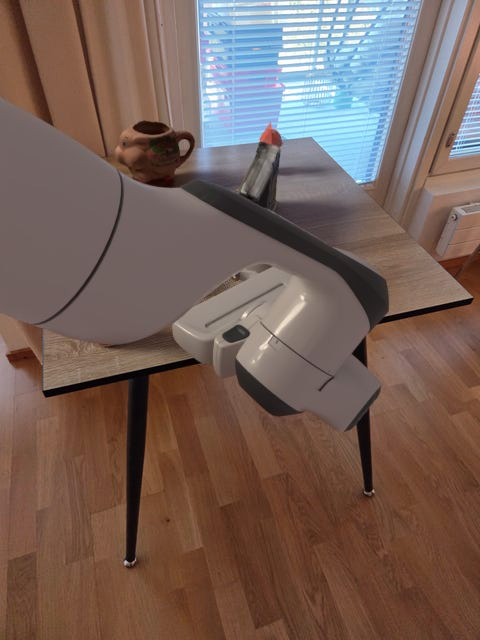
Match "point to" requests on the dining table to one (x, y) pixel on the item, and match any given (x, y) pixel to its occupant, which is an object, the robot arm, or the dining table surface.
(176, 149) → the brown ceramic mug
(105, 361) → the dining table surface
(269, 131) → the cat figurine
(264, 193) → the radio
